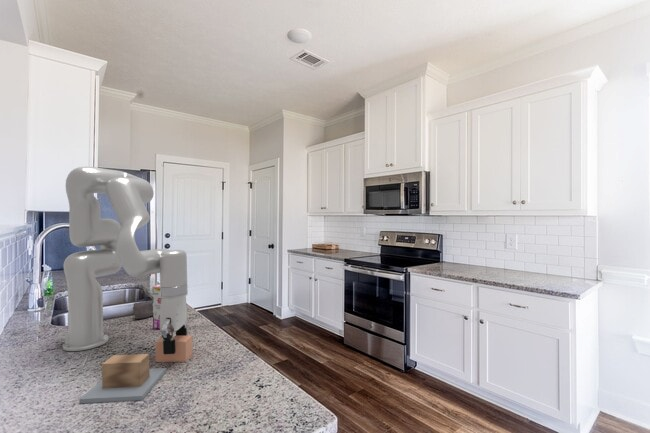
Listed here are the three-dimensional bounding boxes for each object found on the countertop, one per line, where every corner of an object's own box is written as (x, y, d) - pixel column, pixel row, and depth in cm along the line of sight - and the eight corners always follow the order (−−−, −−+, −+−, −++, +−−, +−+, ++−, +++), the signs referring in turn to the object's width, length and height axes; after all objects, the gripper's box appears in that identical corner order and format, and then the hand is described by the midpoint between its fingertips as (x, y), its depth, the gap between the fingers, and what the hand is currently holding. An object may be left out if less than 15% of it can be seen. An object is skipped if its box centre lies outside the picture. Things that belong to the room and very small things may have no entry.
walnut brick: (102, 388, 81) (101, 363, 81) (113, 378, 86) (113, 355, 86) (140, 386, 81) (140, 362, 81) (149, 376, 86) (149, 353, 86)
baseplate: (79, 403, 76) (79, 399, 76) (113, 374, 90) (113, 370, 90) (142, 400, 77) (142, 395, 77) (166, 371, 91) (166, 368, 91)
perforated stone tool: (165, 311, 149) (165, 295, 149) (170, 313, 146) (170, 297, 146) (129, 319, 137) (129, 303, 137) (134, 322, 134) (134, 305, 134)
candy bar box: (152, 329, 125) (151, 286, 125) (159, 325, 130) (159, 283, 130) (179, 330, 124) (179, 287, 124) (186, 325, 129) (186, 284, 129)
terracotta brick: (155, 362, 97) (155, 341, 97) (163, 354, 102) (163, 335, 102) (185, 361, 97) (185, 341, 97) (192, 354, 102) (192, 335, 102)
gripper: (172, 285, 108) (173, 337, 108) (148, 298, 91) (150, 360, 91) (195, 284, 109) (197, 336, 109) (176, 297, 91) (178, 358, 91)
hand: (175, 347), depth 100 cm, fingers open, 9 cm apart
